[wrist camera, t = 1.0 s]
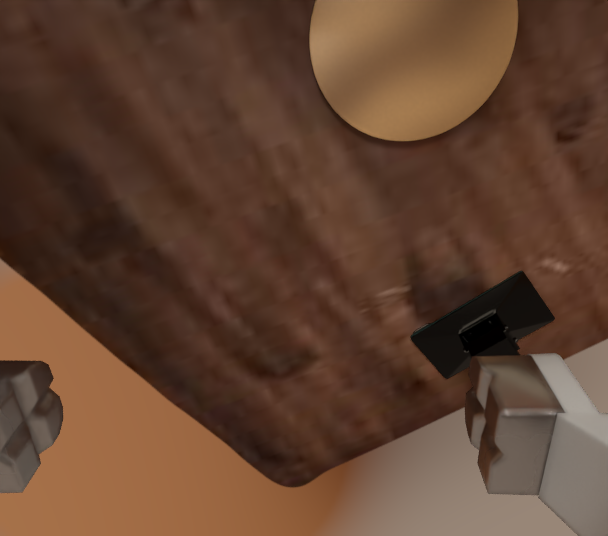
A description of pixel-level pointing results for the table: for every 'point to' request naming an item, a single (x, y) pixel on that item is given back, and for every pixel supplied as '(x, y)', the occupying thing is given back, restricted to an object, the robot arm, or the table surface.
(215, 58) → the table surface
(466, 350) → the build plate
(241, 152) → the table surface
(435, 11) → the mat
